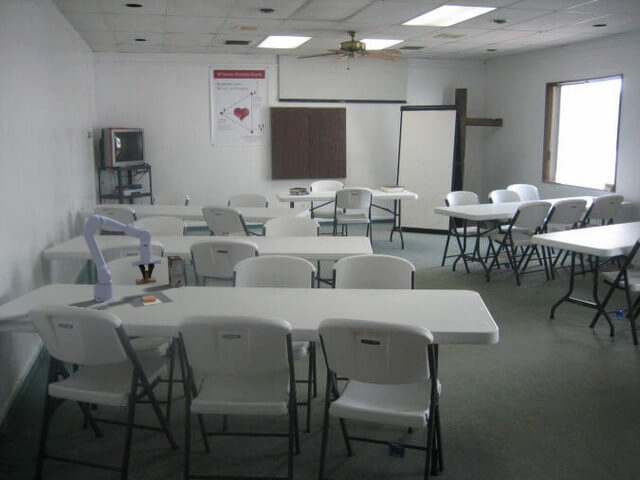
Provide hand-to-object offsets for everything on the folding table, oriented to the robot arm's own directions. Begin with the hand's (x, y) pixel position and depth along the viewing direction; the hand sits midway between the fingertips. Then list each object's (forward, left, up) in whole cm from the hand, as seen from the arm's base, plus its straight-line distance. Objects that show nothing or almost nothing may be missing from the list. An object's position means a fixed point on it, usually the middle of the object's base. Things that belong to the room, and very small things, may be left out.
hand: (147, 278), depth 321 cm
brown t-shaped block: (0, +3, -3) cm, 4 cm away
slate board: (-2, -6, -10) cm, 12 cm away
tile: (-2, -9, -9) cm, 13 cm away
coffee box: (+20, +16, -10) cm, 27 cm away
